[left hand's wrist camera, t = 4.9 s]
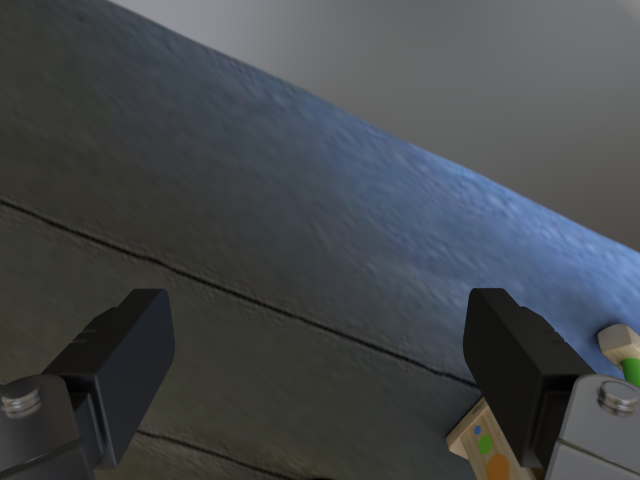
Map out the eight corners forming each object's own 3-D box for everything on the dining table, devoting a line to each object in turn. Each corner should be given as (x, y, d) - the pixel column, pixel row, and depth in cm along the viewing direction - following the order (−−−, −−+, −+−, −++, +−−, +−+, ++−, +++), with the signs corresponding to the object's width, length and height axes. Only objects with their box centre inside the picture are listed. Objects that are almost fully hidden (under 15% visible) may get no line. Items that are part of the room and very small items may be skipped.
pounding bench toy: (575, 292, 44) (736, 423, 27) (674, 352, 46) (877, 506, 29) (442, 440, 50) (503, 618, 34) (534, 485, 53) (633, 671, 36)
